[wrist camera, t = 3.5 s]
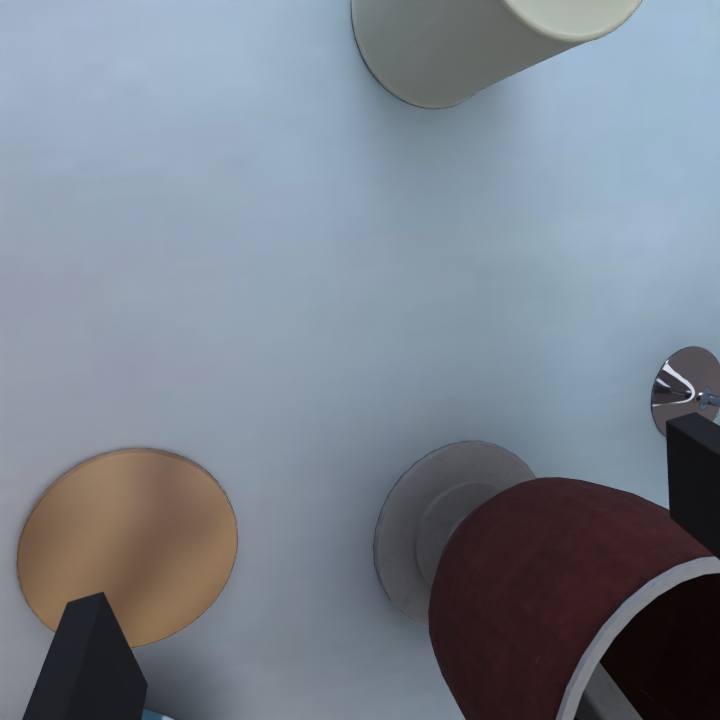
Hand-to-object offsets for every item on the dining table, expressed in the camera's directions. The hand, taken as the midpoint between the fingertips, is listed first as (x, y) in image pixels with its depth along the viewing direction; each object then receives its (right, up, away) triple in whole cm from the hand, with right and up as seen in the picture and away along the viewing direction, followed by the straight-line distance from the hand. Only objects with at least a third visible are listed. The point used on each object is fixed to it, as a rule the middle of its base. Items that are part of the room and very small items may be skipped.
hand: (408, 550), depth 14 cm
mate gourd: (+5, -8, +26) cm, 28 cm away
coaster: (-13, -5, +18) cm, 23 cm away
